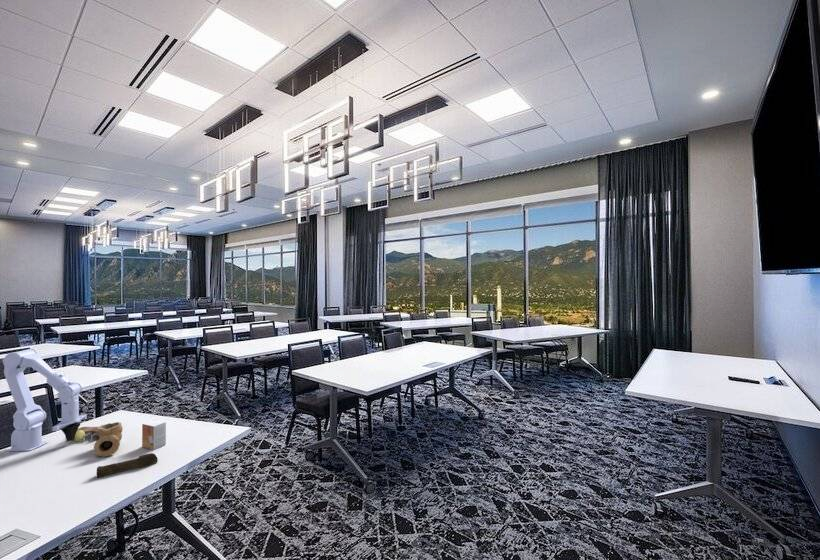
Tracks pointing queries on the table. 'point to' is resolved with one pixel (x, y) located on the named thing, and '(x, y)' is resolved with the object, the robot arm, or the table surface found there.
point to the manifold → (88, 434)
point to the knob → (79, 436)
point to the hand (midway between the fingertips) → (70, 440)
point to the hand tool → (127, 464)
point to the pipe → (108, 439)
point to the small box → (153, 434)
